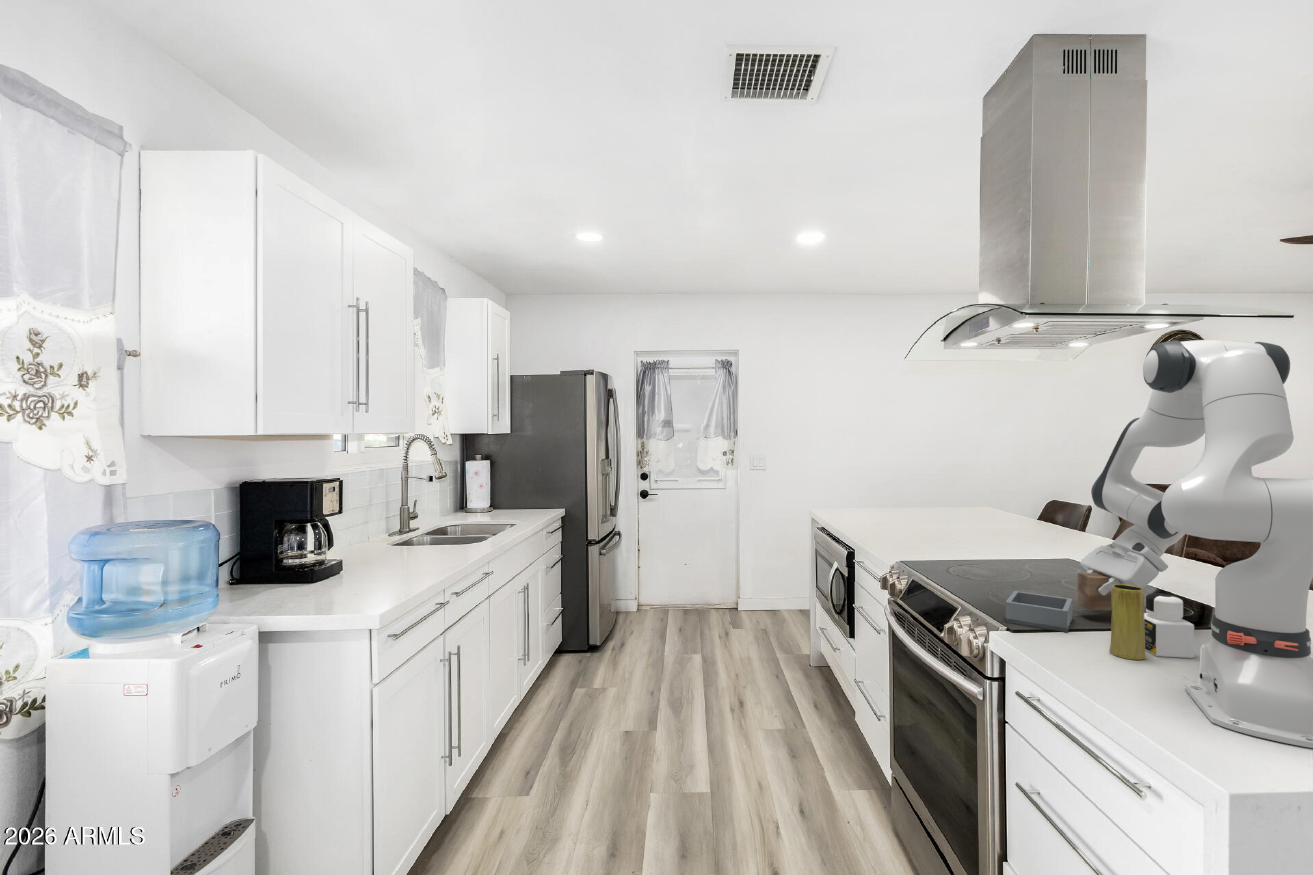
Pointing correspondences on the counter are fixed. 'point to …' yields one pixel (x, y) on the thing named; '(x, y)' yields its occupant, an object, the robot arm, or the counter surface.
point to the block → (1093, 591)
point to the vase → (1128, 622)
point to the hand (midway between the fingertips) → (1091, 589)
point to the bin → (1039, 611)
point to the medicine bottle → (1167, 627)
